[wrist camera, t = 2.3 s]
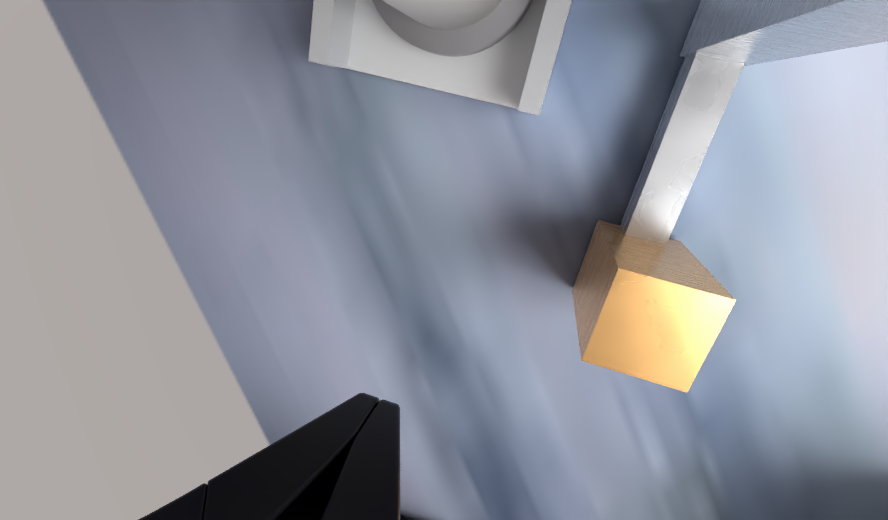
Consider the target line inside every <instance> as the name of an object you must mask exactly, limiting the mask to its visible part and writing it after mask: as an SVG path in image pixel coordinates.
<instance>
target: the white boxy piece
mask: <svg viewBox="0 0 888 520" xmlns="http://www.w3.org/2000/svg"><path fill="white" fill-rule="evenodd" d="M885 41H888V0H701V1H700V3H699V6H698V9H697V11H696V14H695V17H694V19H693V22H692V24H691V27H690V30H689V32H688V35H687V38H686V40H685V43H684V45H683V48H682V51H681V53H680V56H682V57H685V58H684V61H683V63H682V66H681V69H680V71H679V74H678V76H677V79H676V82H675V84H674V87H673V89H672V92H671V95H670V97H669V100H668V102H667V105H666V108H665V110H664V113H663V115H662V118H661V120H660V123H659V126H658V128H657V131H656V133H655V136H654V139H653V141H652V144H651V146H650V149H649V152H648V154H647V157H646V159H645V162H644V165H643V167H642V170H641V172H640V175H639V177H638V180H637V183H636V185H635V188H634V190H633V193H632V196H631V198H630V201H629V203H628V206H627V209H626V211H625V214H624V216H623V219H622V222H621V224H620V225H616V224H613V223H609V222H605V221H601V220H598V221H597V224H596V227H595V229H594V232H593V235H592V238H591V240H590V243H589V246H588V249H587V251H586V254H585V257H584V260H583V262H582V265H581V268H580V271H579V273H578V276H577V279H576V282H575V284H574V287H573V290H572V292H573V299H574V307H575V315H576V322H577V330H578V337H579V345H580V353H581V360H582V361H585V362H588V363H591V364H595V365H598V366H601V367H604V368H608V369H611V370H614V371H618V372H621V373H624V374H627V375H631V376H634V377H637V378H641V379H644V380H647V381H651V382H654V383H657V384H660V385H664V386H667V387H670V388H674V389H677V390H680V391H683V392H688V390H689V388H690V386H691V384H692V383H693V381H694V379H695V377H696V375H697V373H698V371H699V369H700V367H701V366H702V364H703V362H704V360H705V358H706V356H707V354H708V352H709V350H710V348H711V347H712V345H713V343H714V341H715V339H716V337H717V335H718V333H719V331H720V330H721V328H722V326H723V324H724V322H725V320H726V318H727V316H728V314H729V313H730V311H731V309H732V307H733V305H734V303H735V301H736V300H735V299H734V298H733V297H732V296H731V294H730V293H729V292H728V291H727V290H726V289H725V288H724V287H723V286H722V285H721V284H720V283H719V282H718V281H717V280H716V279H715V278H714V276H713V275H712V274H711V273H710V272H709V271H708V270H707V269H706V268H705V267H704V266H703V265H702V264H701V263H700V262H699V261H698V259H697V258H696V257H695V256H694V255H693V254H692V253H691V252H690V251H689V250H688V249H687V248H686V247H685V246H684V245H683V244H682V243H681V241H677V240H673V239H670V238H669V237H670V234H671V232H672V230H673V227H674V225H675V223H676V220H677V218H678V216H679V214H680V211H681V209H682V207H683V204H684V202H685V200H686V198H687V195H688V193H689V191H690V188H691V186H692V184H693V181H694V179H695V177H696V175H697V172H698V170H699V168H700V165H701V163H702V161H703V159H704V156H705V154H706V152H707V149H708V147H709V145H710V142H711V140H712V138H713V136H714V133H715V131H716V129H717V126H718V124H719V122H720V119H721V117H722V115H723V113H724V110H725V108H726V106H727V103H728V101H729V99H730V97H731V94H732V92H733V90H734V87H735V85H736V83H737V80H738V78H739V76H740V74H741V71H742V69H743V67H744V66H747V65H753V64H759V63H764V62H770V61H776V60H782V59H787V58H793V57H799V56H805V55H810V54H816V53H822V52H828V51H834V50H839V49H845V48H851V47H857V46H862V45H868V44H874V43H880V42H885Z"/></svg>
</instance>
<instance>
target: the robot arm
mask: <svg viewBox="0 0 888 520" xmlns="http://www.w3.org/2000/svg"><path fill="white" fill-rule="evenodd" d="M139 520H408V519H405V518H402V517H400V407H399V405H398V404H395V403H392V402H389V401H386V400H380V401H379V399H378V398H377V397H374V396H371V395H368V394H365V393H359V394H357V395H356V396H354V397H352V398H350V399H349V400H347V401H345V402H344V403H342V404H340V405H338V406H337V407H335V408H333V409H332V410H330V411H328V412H326V413H325V414H323V415H321V416H319V417H318V418H316V419H314V420H313V421H311V422H309V423H307V424H306V425H304V426H302V427H301V428H299V429H297V430H295V431H294V432H292V433H290V434H288V435H287V436H285V437H283V438H282V439H280V440H278V441H276V442H275V443H273V444H271V445H270V446H268V447H266V448H264V449H263V450H261V451H259V452H257V453H256V454H254V455H253V456H251V457H249V458H247V459H246V460H244V461H242V462H241V463H239V464H237V465H235V466H233V467H232V468H230V469H229V470H226V471H225V472H223V473H221V474H220V475H218V476H216V477H214V478H213V479H211V480H209V481H208V484H202V485H200V486H199V487H197V488H195V489H193V490H192V491H190V492H188V493H186V494H185V495H183V496H181V497H179V498H178V499H176V500H174V501H172V502H170V503H169V504H167V505H165V506H163V507H161V508H159V509H158V510H156V511H154V512H152V513H150V514H149V515H147V516H145V517H143V518H141V519H139Z"/></svg>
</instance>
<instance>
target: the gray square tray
mask: <svg viewBox="0 0 888 520" xmlns="http://www.w3.org/2000/svg"><path fill="white" fill-rule="evenodd" d="M571 3H572V0H533V2H532V4H531V6H530V8H529V9H528V11H527V13H526V14H525V16H524V17H523V18H522V20H521V21H520V22H519V24H518V25H517V26H516V27H515V28H514V29H513V30H512V31H511V32H510V33H509V34H508V35H507V36H506V37H505V38H503V39H502V40H501V41H500V42H498V43H496V44H495V45H493V46H492V47H490V48H488V49H485V50H483V51H481V52H478V53H475V54H471V55H466V56H460V57H448V56H441V55H436V54H433V53H430V52H427V51H425V50H422V49H420V48H418V47H416V46H413V45H411V44H410V43H408V42H406V41H405V40H403V39H402V38H401V37H399V36H398V35H397V34H396V33H395V32H394V31H393V30H392V29H391V28H390V27H389V26H388V25H387V24H386V23H385V21H384V20H383V18H382V17H381V15H380V14H379V13H378V11H377V9H376V7H375V5H374V3H373V1H372V0H314V3H313V14H312V26H311V37H310V49H309V60H308V61H311V62H315V63H319V64H323V65H328V66H334V67H340V68H347V69H351V70H355V71H360V72H364V73H368V74H372V75H377V76H381V77H385V78H389V79H394V80H398V81H402V82H406V83H410V84H415V85H419V86H423V87H427V88H432V89H436V90H440V91H444V92H449V93H453V94H457V95H461V96H465V97H470V98H474V99H478V100H482V101H487V102H491V103H495V104H499V105H504V106H508V107H512V108H516V109H518V111H522V112H526V113H530V114H534V115H540V112H541V109H542V105H543V102H544V98H545V95H546V91H547V88H548V84H549V80H550V77H551V73H552V70H553V66H554V63H555V59H556V56H557V52H558V49H559V45H560V42H561V38H562V35H563V31H564V28H565V24H566V21H567V17H568V13H569V10H570V6H571Z"/></svg>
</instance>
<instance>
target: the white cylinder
mask: <svg viewBox="0 0 888 520" xmlns="http://www.w3.org/2000/svg"><path fill="white" fill-rule="evenodd" d="M372 1H373V3H374V5H375V7H376V9H377V11H378V13H379V14H380V15H381V17H382V18H383V20H384V21H385V23H386V24H387V25H388V26H389V27H390V28H391V29H392V30H393V31H394V32H395V33H396V34H397V35H398V36H399V37H401V38H402V39H403V40H405V41H406V42H408V43H410V44H411V45H413V46H416V47H418V48H420V49H422V50H425V51H427V52H430V53H433V54H436V55H441V56H448V57H460V56H466V55H471V54H475V53H478V52H481V51H483V50H485V49H488V48H490V47H492V46H493V45H495V44H496V43H498V42H500V41H501V40H502V39H503V38H505V37H506V36H507V35H508V34H509V33H510V32H511V31H512V30H513V29H514V28H515V27H516V26H517V25H518V24H519V22H520V21H521V20H522V18H523V17H524V16H525V14H526V13H527V11H528V9H529V8H530V6H531V4H532V2H533V0H372Z"/></svg>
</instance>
